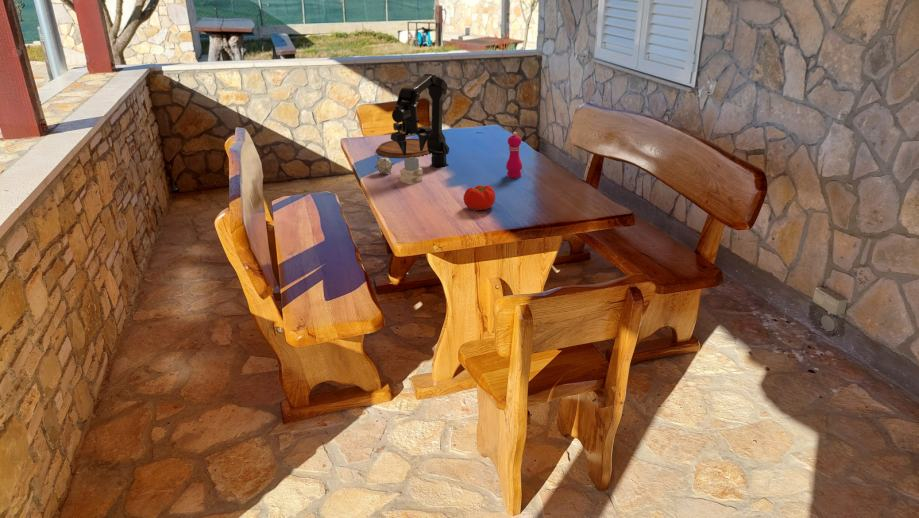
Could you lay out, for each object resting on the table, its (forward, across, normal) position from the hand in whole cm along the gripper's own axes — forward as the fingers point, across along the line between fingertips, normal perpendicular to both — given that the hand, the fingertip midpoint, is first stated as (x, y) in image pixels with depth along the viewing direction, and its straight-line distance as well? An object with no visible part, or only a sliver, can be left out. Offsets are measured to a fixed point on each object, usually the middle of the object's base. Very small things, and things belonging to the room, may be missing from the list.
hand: (412, 153), depth 277 cm
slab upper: (+10, +2, +1) cm, 10 cm away
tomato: (+12, +4, +48) cm, 50 cm away
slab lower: (+12, +2, +1) cm, 13 cm away
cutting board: (+13, -29, -44) cm, 54 cm away
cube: (+6, +2, +1) cm, 7 cm away
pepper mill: (+13, -35, +28) cm, 46 cm away
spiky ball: (+12, +4, -17) cm, 21 cm away
